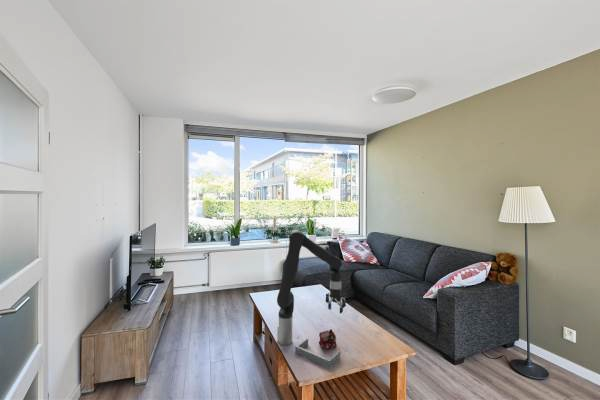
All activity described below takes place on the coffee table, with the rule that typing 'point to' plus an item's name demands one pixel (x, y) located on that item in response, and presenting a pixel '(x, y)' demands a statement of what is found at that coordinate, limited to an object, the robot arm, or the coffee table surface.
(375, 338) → the coffee table surface
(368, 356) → the coffee table surface
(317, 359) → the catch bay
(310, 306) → the coffee table surface
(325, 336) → the toy fire truck
